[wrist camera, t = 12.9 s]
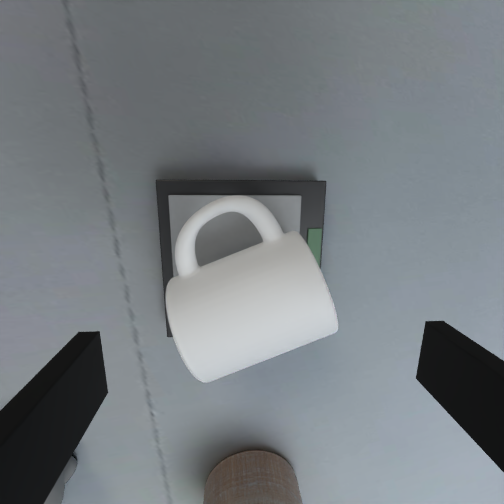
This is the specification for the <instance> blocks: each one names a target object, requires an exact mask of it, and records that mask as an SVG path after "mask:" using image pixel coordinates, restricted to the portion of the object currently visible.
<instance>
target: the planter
mask: <svg viewBox="0 0 504 504" xmlns="http://www.w3.org/2000/svg"><path fill="white" fill-rule="evenodd" d="M204 504H302V500H301V496H300V491H299V486H298V482H297V478H296V475H295V473H294V470H293V468H292V467H291V465H290V464H289V463H288V462H287V461H286V460H285V459H284V458H282V457H281V456H279V455H277V454H274V453H272V452H268V451H263V450H247V451H242V452H239V453H236V454H233V455H231V456H229V457H227V458H225V459H224V460H222V461H221V462H220V463H218V464H217V465H216V466H215V467H214V469H213V470H212V471H211V473H210V474H209V476H208V478H207V481H206V485H205V491H204Z"/></svg>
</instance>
